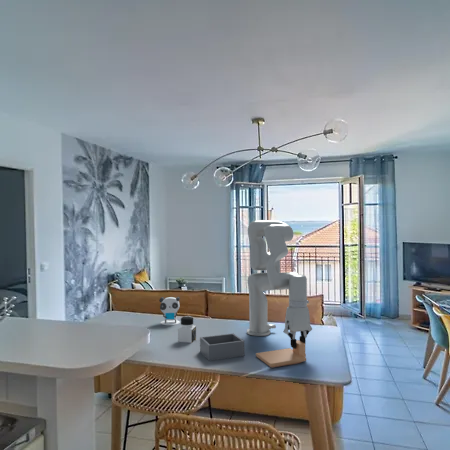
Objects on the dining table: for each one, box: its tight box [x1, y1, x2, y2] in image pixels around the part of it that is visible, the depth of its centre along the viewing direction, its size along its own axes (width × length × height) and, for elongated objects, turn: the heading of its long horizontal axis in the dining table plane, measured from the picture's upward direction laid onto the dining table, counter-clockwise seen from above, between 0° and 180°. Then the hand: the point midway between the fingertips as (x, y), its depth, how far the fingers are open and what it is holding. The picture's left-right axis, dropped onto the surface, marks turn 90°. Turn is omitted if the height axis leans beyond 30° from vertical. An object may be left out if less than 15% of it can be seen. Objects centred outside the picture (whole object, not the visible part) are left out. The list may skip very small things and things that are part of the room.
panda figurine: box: [158, 296, 181, 326], centre depth 206 cm, size 12×11×15 cm
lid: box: [255, 339, 307, 368], centre depth 146 cm, size 19×13×7 cm, turn 111°
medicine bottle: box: [177, 315, 197, 344], centre depth 171 cm, size 7×7×12 cm
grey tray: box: [199, 332, 245, 362], centre depth 152 cm, size 16×12×7 cm
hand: (298, 346), depth 149 cm, fingers open, 3 cm apart
